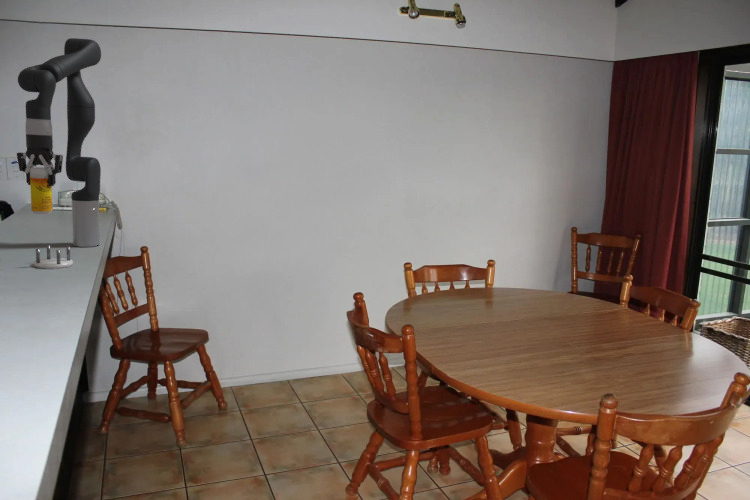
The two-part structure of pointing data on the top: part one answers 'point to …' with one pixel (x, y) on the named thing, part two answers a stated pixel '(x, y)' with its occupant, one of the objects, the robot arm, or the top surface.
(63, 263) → the pin tray
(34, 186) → the beer can
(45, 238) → the top surface
